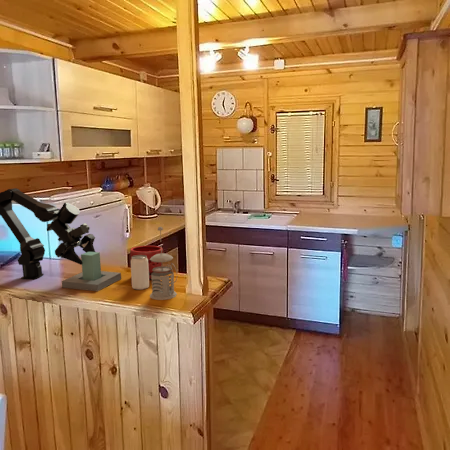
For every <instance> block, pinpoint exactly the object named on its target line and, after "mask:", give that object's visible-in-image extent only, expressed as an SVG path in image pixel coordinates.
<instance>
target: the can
mask: <svg viewBox="0 0 450 450" xmlns="http://www.w3.org/2000/svg"><path fill="white" fill-rule="evenodd" d="M130 272H131V287H132V289H134V290H137V291H142V290H146V289H148V288H149V287H150V279H149V269H148V259H147V256H146V255H135V256H132V259H131V258H130Z"/></svg>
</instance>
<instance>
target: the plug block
mask: <svg viewBox="0 0 450 450" xmlns="http://www.w3.org/2000/svg"><path fill="white" fill-rule="evenodd" d="M80 259H81V261H82V262H83V264H82V265H81V272H82V274H83V280H92V281H95V280H97V279H99V278H101V271H102V269H101V268H102V266H101V253H100V252H98V251H97V252H96V251H95V252H87V253H86V252H84V253H81V254H80Z"/></svg>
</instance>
